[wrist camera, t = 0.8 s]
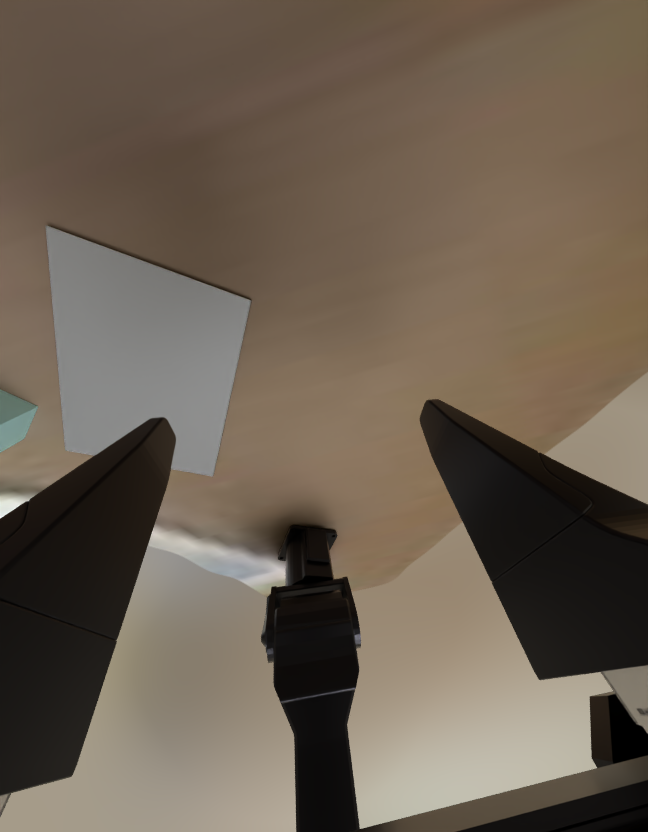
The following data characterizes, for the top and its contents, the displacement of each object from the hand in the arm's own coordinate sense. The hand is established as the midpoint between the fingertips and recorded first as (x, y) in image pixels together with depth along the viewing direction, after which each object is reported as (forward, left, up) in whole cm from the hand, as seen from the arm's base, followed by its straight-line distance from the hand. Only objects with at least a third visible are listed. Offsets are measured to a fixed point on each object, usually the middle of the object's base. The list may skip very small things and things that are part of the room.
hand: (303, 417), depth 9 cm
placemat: (-7, +11, -14) cm, 19 cm away
